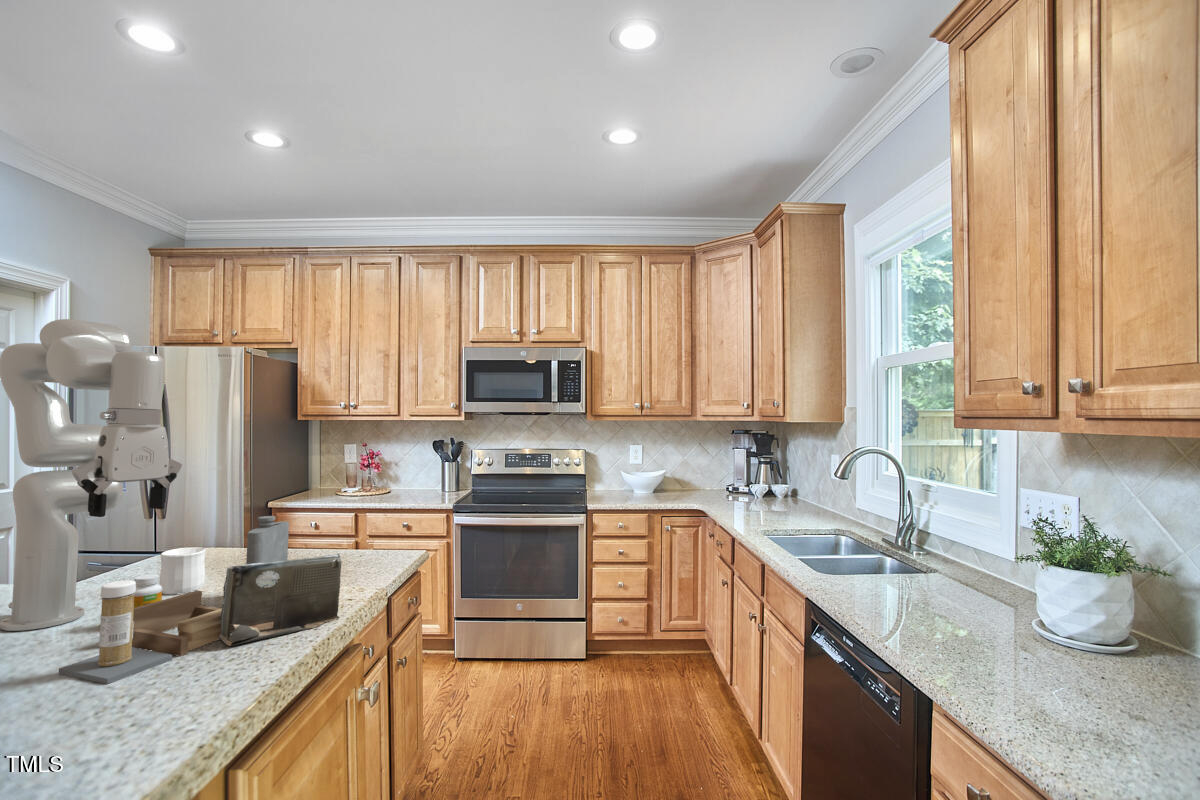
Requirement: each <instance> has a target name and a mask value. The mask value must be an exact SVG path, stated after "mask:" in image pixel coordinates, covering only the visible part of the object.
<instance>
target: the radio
mask: <svg viewBox="0 0 1200 800" xmlns="http://www.w3.org/2000/svg"><path fill="white" fill-rule="evenodd" d="M341 572H342V558H341V556H340V554H339V553H337V554H328V555H323V556H316V557H315V556H314V557H307V558H298V559H295V558H294V559H289V560H288V559H287V561H278V562H270V563H253V564H241V565H229V566H228V567H227V568H226V577H225V580H224V585H223V589H222V590H223V603H222V607H221V608H222V611H221V616H220V618H221V633H220V635H219V638H220V639H219V640H221V641H222V642H223V643H224V644H225V645H226V646H229V647H232V646H236V645H237V646H238V645H241V644H246V643H251V642H255V641H260V640H263V639H269V638H274V637H278V636H282V635H288V634H291V633H295V632H300V631H304V630H309V629H314V628H317V627H320V626H321V625H323V624H325V623H330V622H332V621H333V622H334V621H337V620H339V619H340V616H339V615H338V612H339V605H340V604H339V603H340V602H339V599H340V593H341V592H340V590H341Z"/></svg>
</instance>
